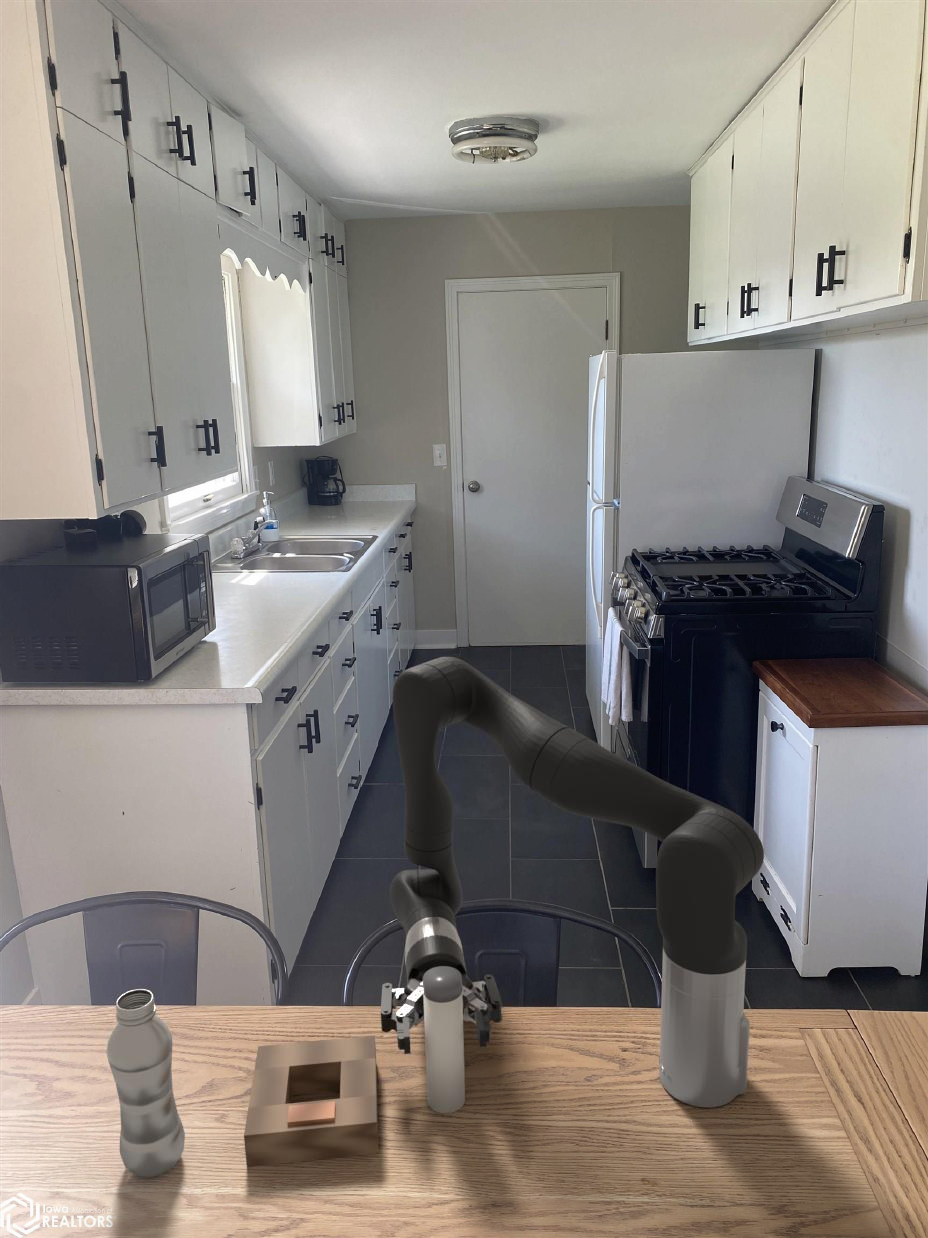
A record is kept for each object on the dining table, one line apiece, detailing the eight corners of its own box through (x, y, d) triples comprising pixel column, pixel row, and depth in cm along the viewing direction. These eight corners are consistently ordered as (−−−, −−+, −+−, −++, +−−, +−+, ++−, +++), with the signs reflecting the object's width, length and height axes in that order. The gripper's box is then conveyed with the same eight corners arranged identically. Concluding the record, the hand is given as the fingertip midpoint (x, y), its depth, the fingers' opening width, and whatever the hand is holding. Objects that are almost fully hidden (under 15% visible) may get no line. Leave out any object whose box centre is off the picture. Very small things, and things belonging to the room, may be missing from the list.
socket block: (376, 1064, 114) (374, 1032, 113) (378, 1153, 100) (376, 1119, 99) (260, 1075, 113) (257, 1043, 112) (246, 1167, 99) (243, 1132, 98)
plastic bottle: (168, 1191, 96) (148, 1023, 92) (109, 1182, 98) (87, 1016, 93) (197, 1143, 102) (180, 984, 98) (142, 1135, 104) (122, 977, 99)
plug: (463, 1084, 110) (459, 964, 107) (467, 1111, 106) (463, 988, 102) (426, 1087, 110) (421, 968, 106) (428, 1115, 106) (424, 991, 102)
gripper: (378, 938, 118) (380, 1020, 103) (488, 929, 120) (507, 1009, 104) (380, 990, 120) (383, 1079, 104) (489, 980, 121) (508, 1067, 106)
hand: (445, 1044), depth 104 cm, fingers open, 8 cm apart
